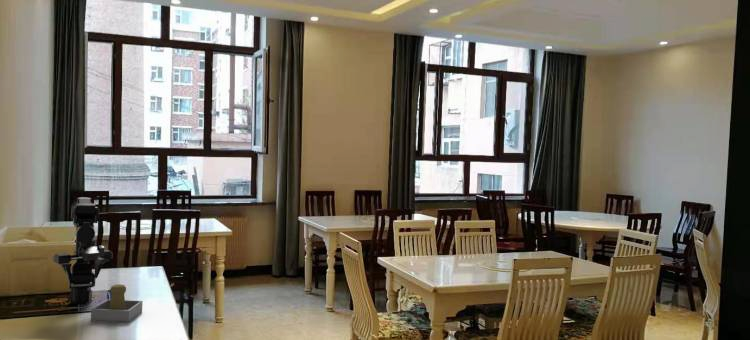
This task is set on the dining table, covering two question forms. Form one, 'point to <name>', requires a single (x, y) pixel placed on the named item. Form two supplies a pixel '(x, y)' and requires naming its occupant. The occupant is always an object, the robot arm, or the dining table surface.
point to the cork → (117, 297)
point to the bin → (116, 312)
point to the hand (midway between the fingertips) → (82, 279)
